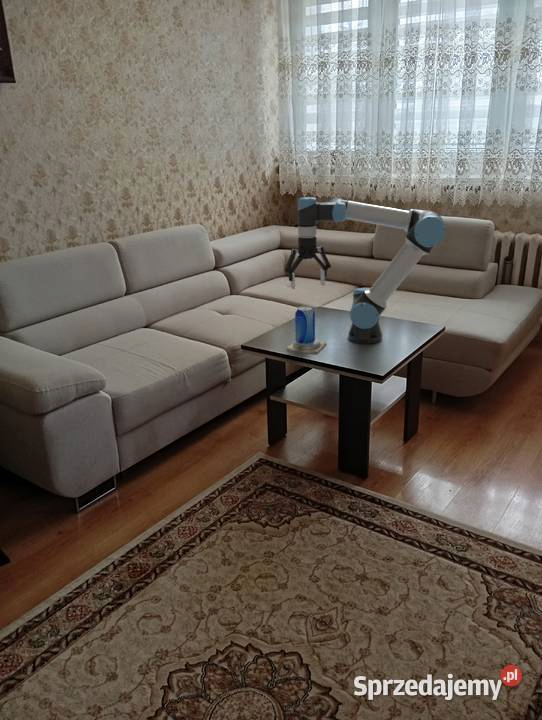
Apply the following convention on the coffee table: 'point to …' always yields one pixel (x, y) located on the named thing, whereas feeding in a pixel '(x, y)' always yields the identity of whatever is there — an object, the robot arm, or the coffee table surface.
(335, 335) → the coffee table surface
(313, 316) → the beer can
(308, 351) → the hub board
